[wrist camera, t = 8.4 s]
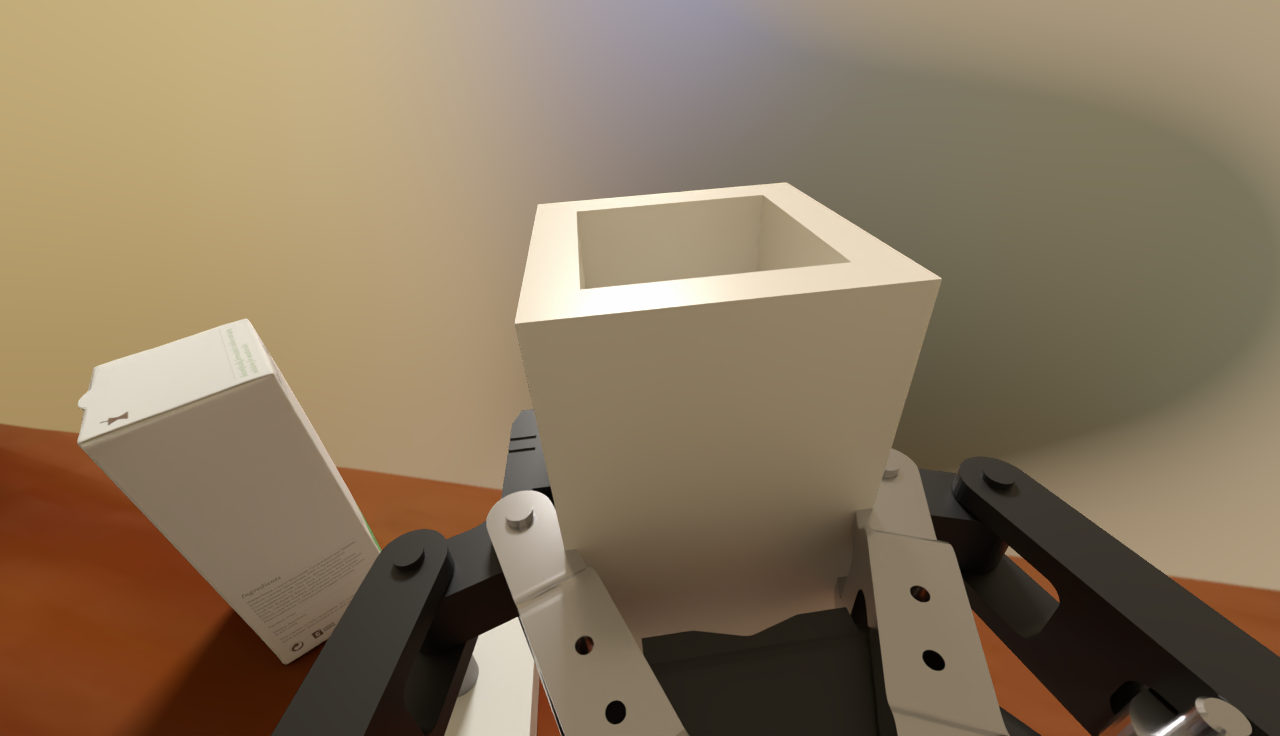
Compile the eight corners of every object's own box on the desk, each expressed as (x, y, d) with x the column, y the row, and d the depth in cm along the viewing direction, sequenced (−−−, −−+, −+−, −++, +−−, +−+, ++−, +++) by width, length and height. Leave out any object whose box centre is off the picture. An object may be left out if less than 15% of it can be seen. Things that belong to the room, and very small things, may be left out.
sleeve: (829, 719, 13) (981, 285, 6) (595, 758, 12) (486, 338, 6) (755, 529, 18) (794, 178, 11) (587, 552, 17) (524, 202, 11)
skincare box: (404, 594, 29) (282, 373, 20) (276, 677, 25) (63, 452, 17) (362, 512, 34) (252, 311, 26) (251, 571, 31) (81, 361, 22)
